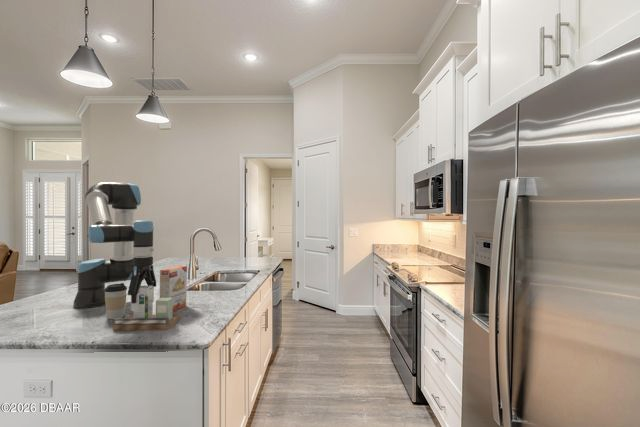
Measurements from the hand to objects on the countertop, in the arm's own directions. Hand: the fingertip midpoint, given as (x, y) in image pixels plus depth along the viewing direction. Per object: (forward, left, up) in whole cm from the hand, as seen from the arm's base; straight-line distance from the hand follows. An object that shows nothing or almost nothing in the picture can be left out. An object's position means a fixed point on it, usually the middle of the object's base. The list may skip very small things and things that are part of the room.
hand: (142, 306), depth 140 cm
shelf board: (+2, +1, -8) cm, 8 cm away
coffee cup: (-18, +12, -8) cm, 23 cm away
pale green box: (+9, 0, -6) cm, 11 cm away
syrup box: (0, 0, -6) cm, 6 cm away
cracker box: (+4, +23, -8) cm, 25 cm away
